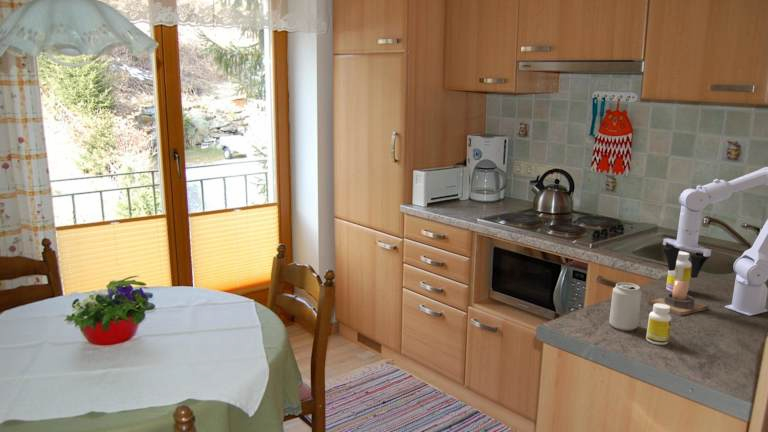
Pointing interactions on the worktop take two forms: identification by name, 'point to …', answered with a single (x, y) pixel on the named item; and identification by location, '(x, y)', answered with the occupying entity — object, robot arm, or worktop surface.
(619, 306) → the can
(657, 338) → the supplement bottle
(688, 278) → the supplement bottle
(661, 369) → the worktop surface
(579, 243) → the worktop surface
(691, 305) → the octagonal holder plate
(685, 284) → the peach rounded peg
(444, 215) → the worktop surface
